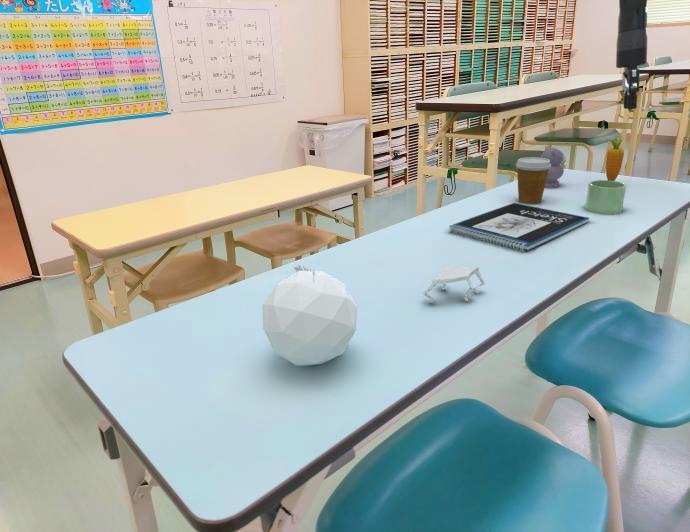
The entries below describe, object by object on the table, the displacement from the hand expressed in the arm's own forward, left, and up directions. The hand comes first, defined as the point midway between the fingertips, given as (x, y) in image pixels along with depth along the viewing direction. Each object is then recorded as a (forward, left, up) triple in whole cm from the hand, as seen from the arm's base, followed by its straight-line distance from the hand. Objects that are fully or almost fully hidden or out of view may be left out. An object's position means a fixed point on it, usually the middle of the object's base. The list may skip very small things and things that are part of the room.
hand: (629, 108), depth 149 cm
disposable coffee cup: (+27, +12, -24) cm, 38 cm away
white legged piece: (+52, +78, -24) cm, 97 cm away
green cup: (+9, +20, -24) cm, 33 cm away
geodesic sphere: (+73, +100, -24) cm, 126 cm away
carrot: (-1, -8, -24) cm, 26 cm away
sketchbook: (+34, +36, -24) cm, 55 cm away
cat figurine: (+18, -7, -24) cm, 31 cm away
